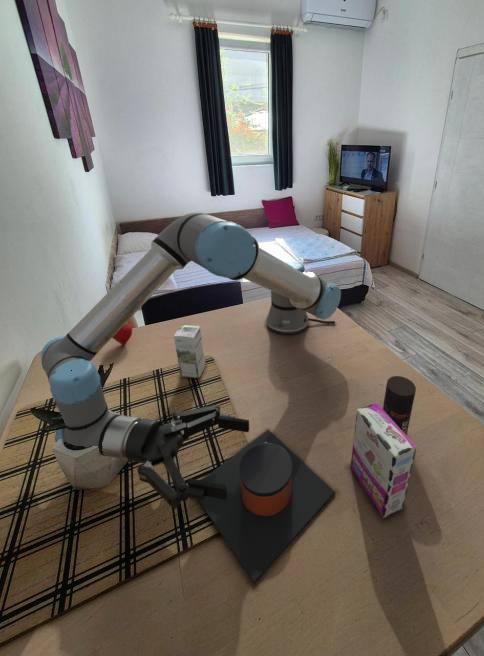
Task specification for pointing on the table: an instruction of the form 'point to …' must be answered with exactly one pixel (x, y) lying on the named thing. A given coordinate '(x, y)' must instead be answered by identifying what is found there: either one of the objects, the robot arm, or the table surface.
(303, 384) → the table surface
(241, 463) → the jar
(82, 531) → the table surface
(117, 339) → the strawberry
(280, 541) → the mat
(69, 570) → the table surface
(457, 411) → the table surface
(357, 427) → the candy bar box
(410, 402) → the deodorant
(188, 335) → the syrup box
